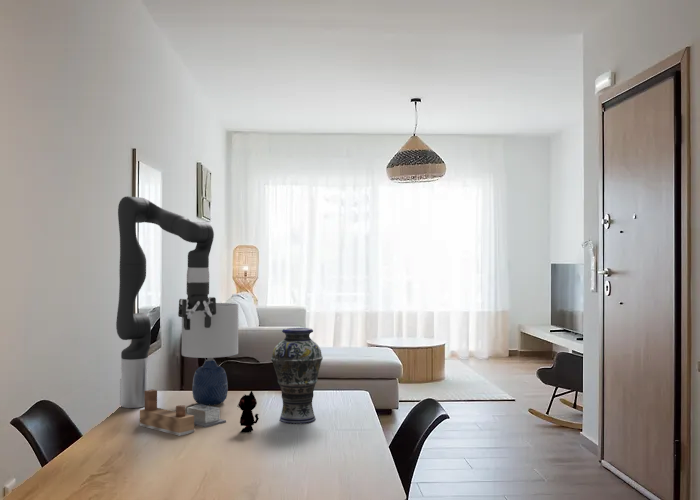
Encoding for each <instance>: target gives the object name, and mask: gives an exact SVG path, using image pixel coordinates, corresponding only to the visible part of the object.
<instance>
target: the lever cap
mask: <svg viewBox="0 0 700 500" xmlns="http://www.w3.org/2000/svg"><path fill="white" fill-rule="evenodd" d="M220 409H221V408H220V407H217V406H213V405H212V406H211V405H210V406H208V405H200V404H198V403H196V404H194V405H193V406H189V407H186V414H188V415H193V416H194V422H199V423H203V424H207V423H211V422H215V421H219V420H220V419H221V417H220V412H221V411H220Z"/></svg>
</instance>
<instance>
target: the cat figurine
mask: <svg viewBox="0 0 700 500" xmlns="http://www.w3.org/2000/svg"><path fill="white" fill-rule="evenodd" d="M257 403H258V402H257V399H256V397H255V395H254V392H253V390H252V389H251V390H250V392H249V394H244V395H242V396H241V398H239V401H238V405H237V406H236V407H238V409H240V410H241V411H242V412H241V415H240V420H239V424H240V426H241V427H242V426H243V428H242V429H241V430H240V434H241V433H242V434H246V433H252V431H254V429H253V426H255V424H257V423H258V421H259V415H260V414H259V413H255V415H254V414H253V410H254V409H256V406H257Z"/></svg>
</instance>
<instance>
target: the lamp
mask: <svg viewBox="0 0 700 500" xmlns="http://www.w3.org/2000/svg"><path fill="white" fill-rule="evenodd" d="M207 305H208V307H209V303H208V304H207ZM187 306H188V304H187V305H186V308H187ZM190 310H191V309H190ZM212 311H213V309H212ZM205 317H206V316H205V315H204V313H203V312H202V311H195V312H194V313H193V314H192V315H191V317H190V318H189V319H190V330H185V328H184V319H183V318H182V317H181V356H182V357H186V358H187V357H188V358H195V359H196V358H197V359H199V358H201V359H206V358H207V359H206V360H204V363H203V364H202V366H199V367H198V368H197V369H195V371H194V375H193V379H192V389H191V390H192V397H193V399H194V401H195V403H196V404H200V405H207V406H212V407H213V406H217V405H221V404H222V403H224V402H225V401H226V400H227V397H228V390H229V388H228V387H229V386H228V376H227V373H226V370H225V368H224V367H222V366H221V365H218V364H217V362H216V360H215V359H216V358H225V357H232V356H233V357H234V356H237V355H239V304H238V303H232V302H231V303H229V302H216V314H215V315H212V316H211V326H210V328H205V326H204V325H205Z"/></svg>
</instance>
